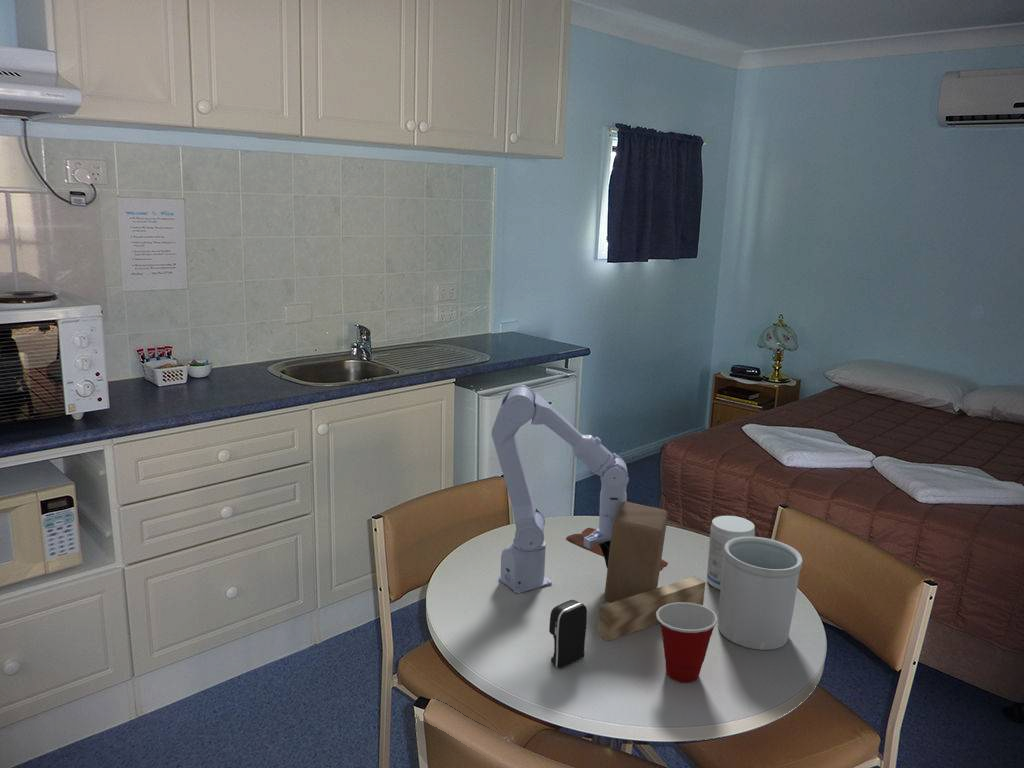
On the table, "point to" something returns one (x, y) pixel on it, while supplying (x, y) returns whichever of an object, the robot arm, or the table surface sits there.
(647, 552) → the block
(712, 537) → the supplement tub
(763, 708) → the table surface
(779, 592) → the utensil holder
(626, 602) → the board
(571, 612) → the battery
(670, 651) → the plastic cup
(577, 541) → the wooden tablet
